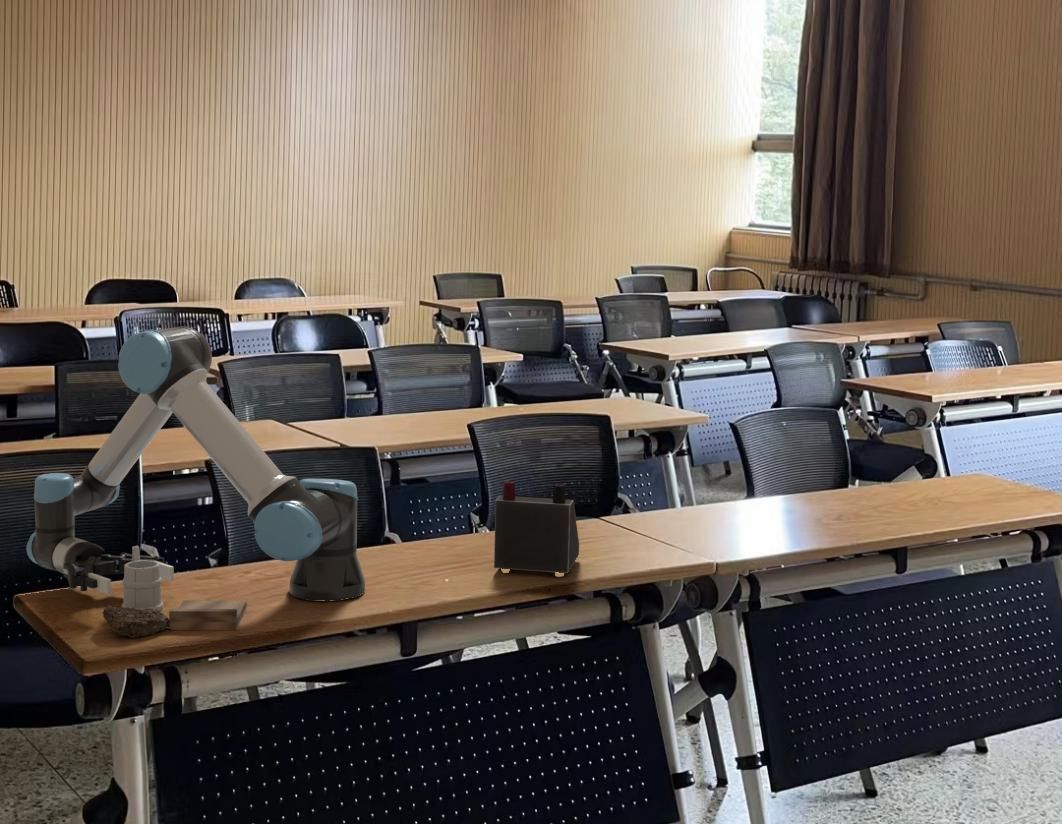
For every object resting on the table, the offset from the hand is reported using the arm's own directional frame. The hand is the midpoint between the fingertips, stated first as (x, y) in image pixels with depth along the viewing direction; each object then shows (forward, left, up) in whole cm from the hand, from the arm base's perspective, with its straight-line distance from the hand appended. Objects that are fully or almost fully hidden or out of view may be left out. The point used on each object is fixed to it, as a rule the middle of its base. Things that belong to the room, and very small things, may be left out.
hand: (141, 580), depth 260 cm
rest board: (-13, +3, -6) cm, 15 cm away
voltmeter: (-78, -37, -7) cm, 86 cm away
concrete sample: (-2, +11, -7) cm, 13 cm away
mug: (0, -1, -7) cm, 7 cm away
